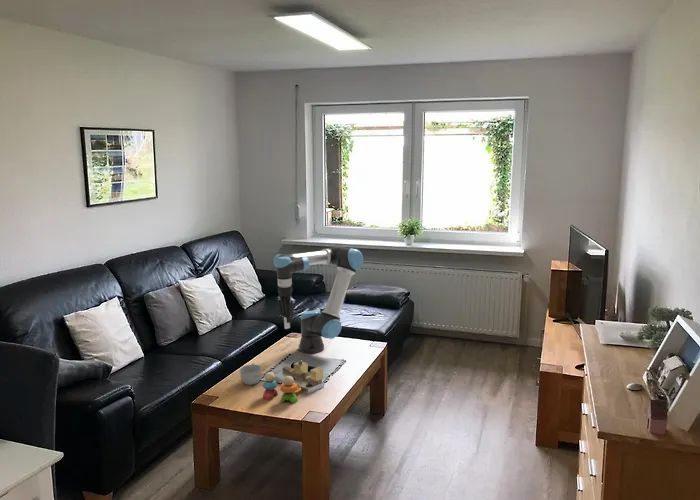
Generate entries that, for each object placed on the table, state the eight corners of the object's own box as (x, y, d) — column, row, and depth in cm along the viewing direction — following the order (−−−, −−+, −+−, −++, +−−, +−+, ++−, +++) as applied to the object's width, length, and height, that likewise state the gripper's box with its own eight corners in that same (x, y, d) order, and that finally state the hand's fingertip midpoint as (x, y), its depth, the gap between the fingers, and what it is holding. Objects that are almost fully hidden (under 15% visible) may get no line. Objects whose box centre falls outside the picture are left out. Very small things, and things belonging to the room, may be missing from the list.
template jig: (287, 373, 301) (287, 356, 300) (324, 386, 284) (323, 369, 282) (271, 379, 293) (271, 362, 292) (308, 393, 276) (307, 375, 274)
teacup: (257, 387, 284) (256, 372, 282) (237, 386, 286) (236, 371, 284) (267, 377, 297) (266, 362, 296) (247, 375, 299) (246, 361, 298)
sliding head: (301, 373, 294) (300, 357, 293) (307, 375, 291) (307, 360, 289) (287, 378, 287) (286, 363, 286) (293, 381, 284) (293, 365, 282)
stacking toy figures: (305, 390, 280) (305, 366, 278) (294, 405, 263) (293, 380, 261) (271, 387, 284) (270, 363, 282) (258, 402, 267) (257, 377, 265)
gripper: (271, 285, 303) (273, 327, 307) (288, 289, 295) (290, 332, 299) (281, 282, 308) (283, 324, 313) (298, 285, 300) (300, 328, 305)
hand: (287, 328), depth 306 cm, fingers closed
